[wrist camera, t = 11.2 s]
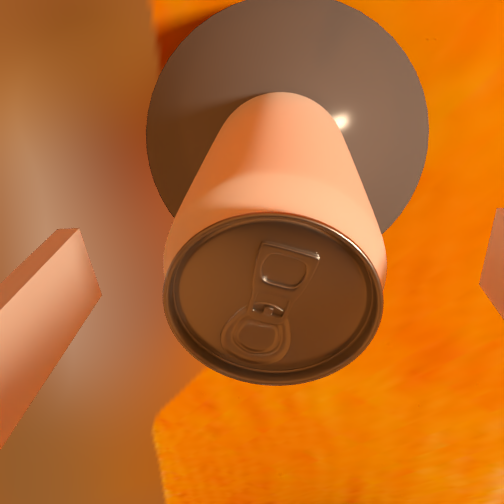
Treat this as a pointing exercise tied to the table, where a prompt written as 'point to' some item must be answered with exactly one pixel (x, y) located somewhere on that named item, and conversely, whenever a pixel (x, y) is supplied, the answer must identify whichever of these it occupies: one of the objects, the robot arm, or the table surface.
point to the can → (275, 249)
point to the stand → (293, 81)
